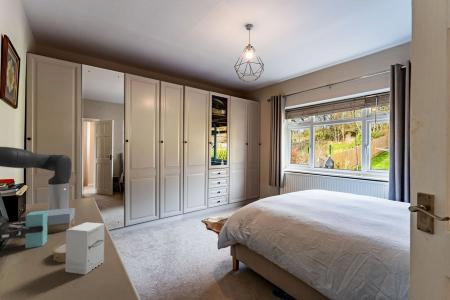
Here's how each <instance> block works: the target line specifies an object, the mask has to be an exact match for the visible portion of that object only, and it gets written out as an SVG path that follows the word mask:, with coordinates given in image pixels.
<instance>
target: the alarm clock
mask: <svg viewBox="0 0 450 300" xmlns="http://www.w3.org/2000/svg"><path fill="white" fill-rule="evenodd" d="M52 253H53V259H52V260H53V261H55V262H57V263H66V241H63V242H61V243H60V244H58V245H56V246H55V247H54V248H53V249H52Z"/></svg>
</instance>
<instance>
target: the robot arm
mask: <svg viewBox="0 0 450 300" xmlns="http://www.w3.org/2000/svg"><path fill="white" fill-rule="evenodd" d="M0 167H1V168H2V167H3V168H9V169H10V168H11V169H31V168H32V169H39V170H40V169H42V170H46V171H50V172H54V174H53V176H52V177H50V178H49V179H48V181H47V186H48V187H47V189H48V191H47V210H56V209H67V208H70V206H69V205H70V202H69V201H70V199H69V198H70V179H71V175H72V159H71V158H70V156H68V155H67V154H41V153H35V152H33V151H30V150H27V149H23V148H17V147H11V146H0ZM47 227H48V221H47ZM42 231H43V226H34V227H26V220H19V221H18V222H13V223H11V224H8V222H7V220H4V219H2V220H0V243H1V242H3V241H5V240H11V239H17V238H23V237H26V235H28V234H30V233H38V232H42Z"/></svg>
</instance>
